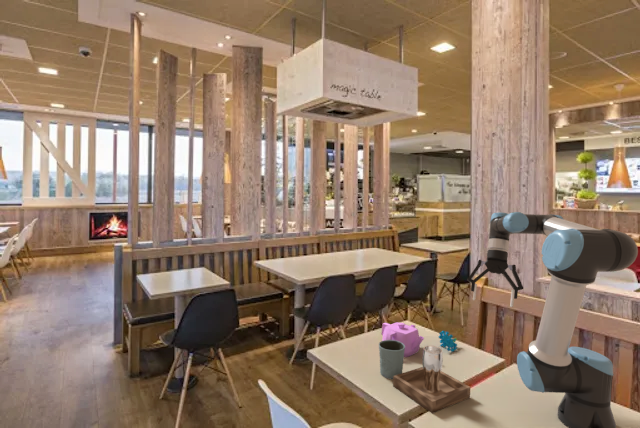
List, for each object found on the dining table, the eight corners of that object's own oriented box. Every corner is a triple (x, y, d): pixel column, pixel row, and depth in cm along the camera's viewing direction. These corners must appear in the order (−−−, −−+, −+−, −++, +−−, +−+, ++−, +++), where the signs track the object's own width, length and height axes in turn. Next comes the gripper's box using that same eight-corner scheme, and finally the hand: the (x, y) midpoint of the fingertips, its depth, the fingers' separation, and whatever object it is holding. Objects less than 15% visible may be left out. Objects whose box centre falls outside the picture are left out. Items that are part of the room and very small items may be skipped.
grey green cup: (407, 372, 149) (408, 343, 148) (399, 383, 140) (400, 352, 140) (383, 365, 154) (384, 337, 153) (374, 376, 146) (375, 346, 145)
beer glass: (428, 395, 130) (429, 354, 129) (417, 385, 137) (419, 346, 136) (445, 393, 132) (447, 352, 131) (434, 383, 139) (435, 344, 138)
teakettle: (379, 341, 179) (380, 316, 178) (415, 342, 178) (416, 317, 178) (384, 357, 162) (385, 330, 161) (423, 358, 162) (425, 331, 161)
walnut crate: (469, 397, 131) (470, 387, 131) (432, 413, 122) (432, 401, 121) (429, 374, 148) (429, 364, 147) (393, 386, 138) (393, 376, 138)
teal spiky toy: (447, 351, 166) (437, 330, 172) (438, 356, 169) (429, 336, 175) (463, 349, 171) (453, 329, 177) (454, 355, 175) (445, 335, 181)
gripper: (530, 256, 149) (526, 309, 145) (464, 247, 158) (458, 297, 154) (534, 254, 142) (529, 309, 139) (465, 244, 151) (459, 297, 148)
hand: (492, 303), depth 146 cm, fingers open, 13 cm apart
